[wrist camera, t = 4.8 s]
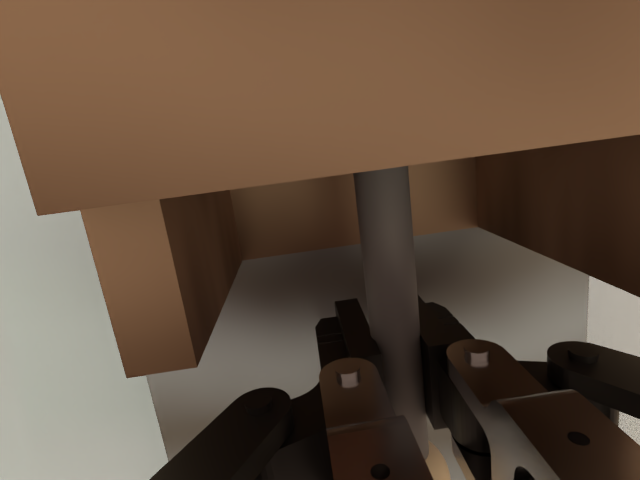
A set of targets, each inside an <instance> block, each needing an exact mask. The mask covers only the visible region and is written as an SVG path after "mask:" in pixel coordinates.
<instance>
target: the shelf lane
mask: <svg viewBox="0 0 640 480" xmlns="http://www.w3.org/2000/svg"><path fill="white" fill-rule="evenodd" d="M0 94H1V97H2V100H3V104H4V107H5V110H6V113H7V117H8V120H9V123H10V127H11V130H12V133H13V137H14V140H15V143H16V146H17V150H18V153H19V156H20V160H21V163H22V166H23V169H24V173H25V176H26V179H27V183H28V186H29V189H30V192H31V196H32V199H33V202H34V206H35V209H36V212H37V215H38V216H40V215H47V214H55V213H62V212H69V211H77V210H80V211H81V215H82V219H83V222H84V226H85V230H86V233H87V237H88V240H89V244H90V248H91V251H92V255H93V258H94V262H95V266H96V269H97V273H98V277H99V280H100V284H101V287H102V291H103V295H104V298H105V302H106V305H107V309H108V313H109V316H110V320H111V324H112V327H113V331H114V334H115V338H116V342H117V345H118V349H119V352H120V356H121V360H122V363H123V367H124V370H125V374H126V378H131V377H138V376H144V375H146V377H147V381H148V384H149V388H150V392H151V396H152V400H153V404H154V407H155V411H156V415H157V419H158V423H159V426H160V430H161V434H162V438H163V442H164V445H165V449H166V453H167V457H168V461H170V460H171V459H172V458H173V457H174V456H175V455H176V454H178V453H179V452H180V451H181V450H182V449H183V448H184V447H185V446H186V445H187V444H188V443H189V442H190V441H192V440H193V439H194V438H195V437H196V436H197V435H198V434H199V433H200V432H201V431H202V430H203V429H204V428H205V427H207V426H208V425H209V424H210V423H211V422H212V421H213V420H214V419H215V418H216V417H217V416H218V415H219V414H221V413H222V412H223V411H224V410H225V409H226V408H227V407H228V406H229V405H230V404H231V403H232V402H233V401H235V400H236V399H237V398H238V397H240V396H241V395H243V394H245V393H247V392H249V391H252V390H255V389H258V388H266V387H273V388H278V389H281V390H283V391H285V392H286V393H287V394H288V395H289V396H290V399H293V398H296V397H299V396H301V395H303V394H305V393H307V392H309V391H310V390H311V389H313V388H314V387H315V386H316V385H317V384H318V382H319V374H320V371H321V367H320V360H319V352H318V345H317V337H316V330H315V327H316V325H317V324H318V322H319V321H320V319H322V318H329V317H336V312H335V301H341V300H347V299H354V298H357V299H358V301H359V304H360V306H361V308H362V311H363V313H364V315H365V318H366V320H367V322H368V324H369V316H368V307H367V298H366V288H365V279H364V270H363V260H362V251H361V242H360V232H359V223H358V214H357V204H356V195H355V186H354V176H353V173H358V172H366V171H373V170H380V169H388V168H395V167H403V166H408V172H409V185H410V199H411V212H412V226H413V240H414V253H415V267H416V280H417V294H418V295H419V296H420V297H421V299H422V300H423V301H424V302H425V303H429V302H434V303H437V304H439V305H441V306H443V307H446V308H447V309H448V310H449V312H450V313H451V314H452V315H453V317H455V318H456V319H457V320H458V321H459V323H461V324H462V325H463V326H464V327H465V328H466V329H467V330H468V332H469V333H470V334H471V335H472V336H473V337H474V338H475V339H481V340H487V341H490V342H494V343H496V344H498V345H500V346H502V347H503V348H504V349H505V350H506V351H508V352H509V353H510V354H511V355H512V356H513V357H514V358H515V359H516V360H519V361H542V362H547V350H548V348H549V347H550V346H551V345H553V344H555V343H558V342H564V341H580V342H587V315H588V289H589V275H590V276H592V277H594V278H597V279H599V280H601V281H603V282H606V283H608V284H610V285H613V286H615V287H617V288H620V289H622V290H624V291H626V292H629V293H631V294H633V295H636V296H638V297H640V0H0ZM369 327H370V326H369ZM426 416H427V415H426ZM427 430H428V440H429V441H430V442H431V443H432V444H434V445H435V447H436V448H437V449H438V450H439V451H440V453H441V454H442V456H443V457H444V459H445V461H446V463H447V466H448V469H449V473H450V478H451V480H466V478H465V476H464V474H463V472H462V470H461V468H460V466H459V464H458V462H457V460H456V458H455V456H454V454H453V452H452V445H451V432H450V430H449V428H444V429H438V430H434V428H433V426H432V424H431V422H430V420H429V418H428V416H427Z"/></svg>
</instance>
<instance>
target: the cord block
mask: <svg viewBox="0 0 640 480" xmlns="http://www.w3.org/2000/svg"><path fill="white" fill-rule="evenodd" d="M353 176H354V186H355V195H356V204H357V214H358V223H359V232H360V242H361V251H362V260H363V270H364V279H365V288H366V298H367V307H368V316H369V326H370V335H371V337H372V338H373V339H374V340H375V341H376V343H377V345H378V348H379V350H380V352H381V356H382V366H383V375H384V385H385V390H386V392H387V395H388V397H389V400H390V402H391V404H392V407H393V409H394V412H395V414H396V416H399V415H404V416H405V417H406V419H407V421H408V423H409V425H410V428H411V430H412V432H413V435H414V437H415V439H416V441H417V444H418V446H419V448H420V450H421V453H422V455H423V457H424V459H425V462H426V464H427V466H428V468H429V471H430V473H431V475H432V477H433V480H451V478H450V473H449V469H448V466H447V463H446V461H445V459H444V457H443V456H442V454H441V453H440V451H439V450H438V449H437V448H436V447H435V445H434V444H432V443H431V442H430V441H429V440H428V430H427V416H426V409H425V395H424V381H423V368H422V354H421V341H420V321H419V307H418V294H417V280H416V267H415V253H414V240H413V226H412V212H411V199H410V185H409V172H408V166H403V167H395V168H388V169H380V170H373V171H366V172H358V173H353Z"/></svg>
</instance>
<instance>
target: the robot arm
mask: <svg viewBox="0 0 640 480" xmlns="http://www.w3.org/2000/svg"><path fill="white" fill-rule="evenodd" d="M418 307H419V321H420V341H421V354H422V368H423V381H424V395H425V409H426V415H427V416H428V418H429V420H430V422H431V424H432V426H433V428H434V430H438V429H444V428H449V430H450V432H451V445H452V452H453V454H454V456H455V458H456V460H457V462H458V464H459V466H460V468H461V470H462V472H463V474H464V476H465V478H466V480H640V446H639V445H638V444H637V443H636V442H635V441H634V440H633V439H631V438H630V437H629V436H628V435H627V434H626V433H625V432H623V431H622V430H621V429H620V428H619V427H618V423H619V411H620V412H623V413H626V414H628V415H631V416H633V417H636V418H638V419H640V357H637V356H634V355H630V354H627V353H623V352H620V351H616V350H613V349H609V348H606V347H602V346H599V345H595V344H591V343H587V342H580V341H564V342H558V343H555V344H553V345H551V346H550V347H549V348H548V350H547V362H542V361H519V360H516V359H515V358H514V357H513V356H512V355H511V354H510V353H509V352H508V351H506V350H505V349H504V348H503V347H502V346H500V345H498V344H496V343H494V342H490V341H487V340H481V339H475V338H474V337H473V336H472V335H471V334H470V333H469V332H468V330H467V329H466V328H465V327H464V326H463V325H462V324H461V323H459V321H458V320H457V319H456V318H455V317H453V315H452V314H451V313H450V312H449V310H448V309H447V308H446V307H443V306H441V305H439V304H437V303H434V302H429V303H425V302H424V301H423V300H422V299H421V297H420V296H419V295H418ZM335 312H336V317H329V318H322V319H320V321H319V322H318V324H317V325H316V327H315V330H316V337H317V345H318V352H319V360H320V367H321V371H320V374H319V382H318V384H317V385H316V386H315V387H314V388H313V389H311V390H310V391H309V392H307V393H305V394H303V395H301V396H299V397H296V398H293V399H290V396H289V395H288V394H287V393H286V392H285V391H283V390H281V389H278V388H273V387H266V388H258V389H255V390H252V391H249V392H247V393H245V394H243V395H241V396H240V397H238V398H237V399H236V400H235V401H233V402H232V403H231V404H230V405H229V406H228V407H227V408H226V409H225V410H224V411H223V412H222V413H221V414H219V415H218V416H217V417H216V418H215V419H214V420H213V421H212V422H211V423H210V424H209V425H208V426H207V427H205V428H204V429H203V430H202V431H201V432H200V433H199V434H198V435H197V436H196V437H195V438H194V439H193V440H192V441H190V442H189V443H188V444H187V445H186V446H185V447H184V448H183V449H182V450H181V451H180V452H179V453H178V454H176V455H175V456H174V457H173V458H172V459H171V460H170V461H169V462H168V463H167V464H166V465H165V466H164V467H162V468H161V469H160V470H159V471H158V472H157V473H156V474H155V475H154V476H153V477H152V478H151V479H150V480H433V477H432V475H431V473H430V471H429V468H428V466H427V464H426V462H425V459H424V457H423V455H422V453H421V450H420V448H419V446H418V444H417V441H416V439H415V437H414V435H413V432H412V430H411V428H410V425H409V423H408V421H407V419H406V417H405V416H404V415H399V416H396V414H395V412H394V409H393V407H392V404H391V402H390V400H389V397H388V395H387V392H386V390H385V385H384V375H383V366H382V356H381V352H380V350H379V348H378V345H377V343H376V341H375V340H374V339H373V338H372V337H371V335H370V327H369V324H368V322H367V320H366V318H365V315H364V313H363V311H362V308H361V306H360V304H359V301H358V299H357V298H354V299H347V300H341V301H335Z"/></svg>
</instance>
